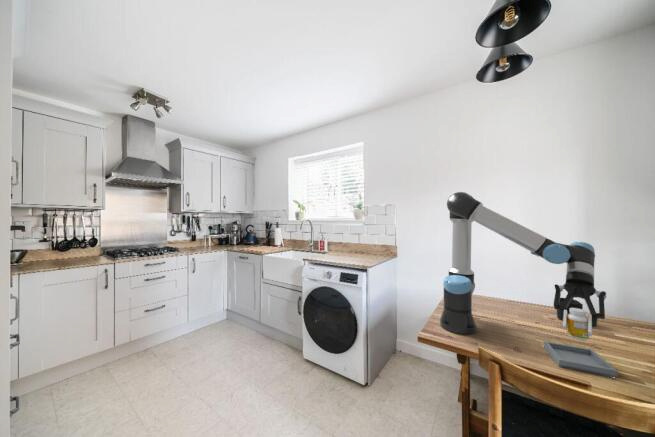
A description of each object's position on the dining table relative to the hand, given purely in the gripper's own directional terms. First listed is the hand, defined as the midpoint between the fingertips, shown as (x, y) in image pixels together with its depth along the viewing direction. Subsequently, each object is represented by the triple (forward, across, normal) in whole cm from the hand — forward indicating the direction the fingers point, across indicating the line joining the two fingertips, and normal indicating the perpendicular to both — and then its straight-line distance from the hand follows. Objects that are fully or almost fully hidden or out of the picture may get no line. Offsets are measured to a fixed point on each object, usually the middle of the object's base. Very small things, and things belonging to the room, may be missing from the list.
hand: (576, 330), depth 82 cm
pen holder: (-27, +6, -44) cm, 52 cm away
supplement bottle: (0, 0, -5) cm, 5 cm away
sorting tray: (+6, 0, -11) cm, 13 cm away
